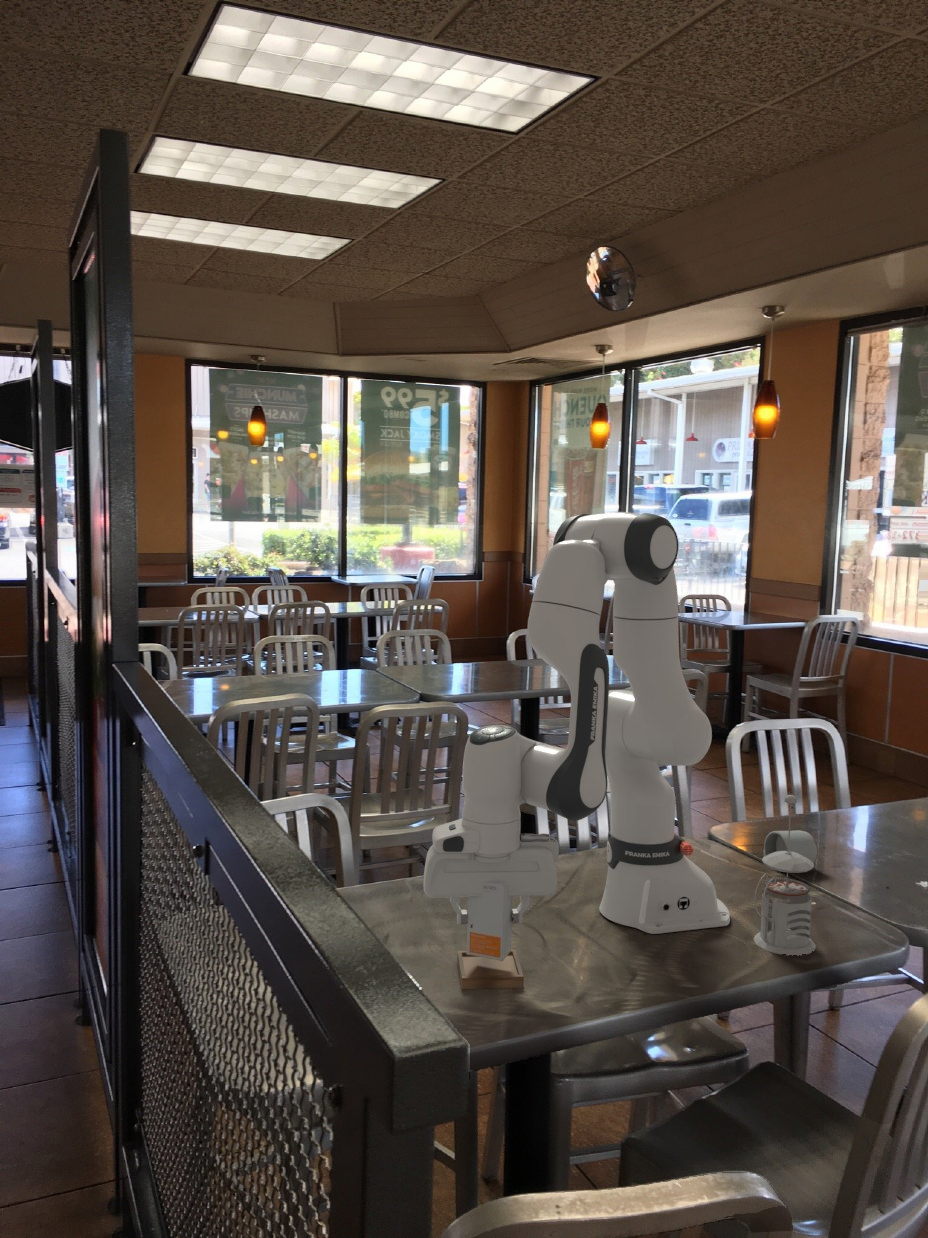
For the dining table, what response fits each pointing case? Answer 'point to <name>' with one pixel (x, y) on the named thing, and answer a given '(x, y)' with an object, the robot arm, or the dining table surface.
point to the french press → (786, 904)
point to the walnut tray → (489, 971)
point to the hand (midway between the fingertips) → (489, 923)
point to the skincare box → (490, 922)
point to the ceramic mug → (791, 843)
